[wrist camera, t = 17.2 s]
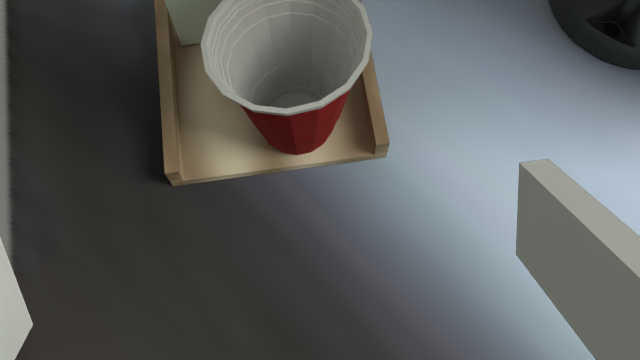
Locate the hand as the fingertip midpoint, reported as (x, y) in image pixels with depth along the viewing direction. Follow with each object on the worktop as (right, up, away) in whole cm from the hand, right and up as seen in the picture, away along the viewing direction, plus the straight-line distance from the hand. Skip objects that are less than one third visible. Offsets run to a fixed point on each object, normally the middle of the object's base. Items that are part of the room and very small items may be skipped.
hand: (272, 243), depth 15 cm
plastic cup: (-1, +6, +33) cm, 34 cm away
